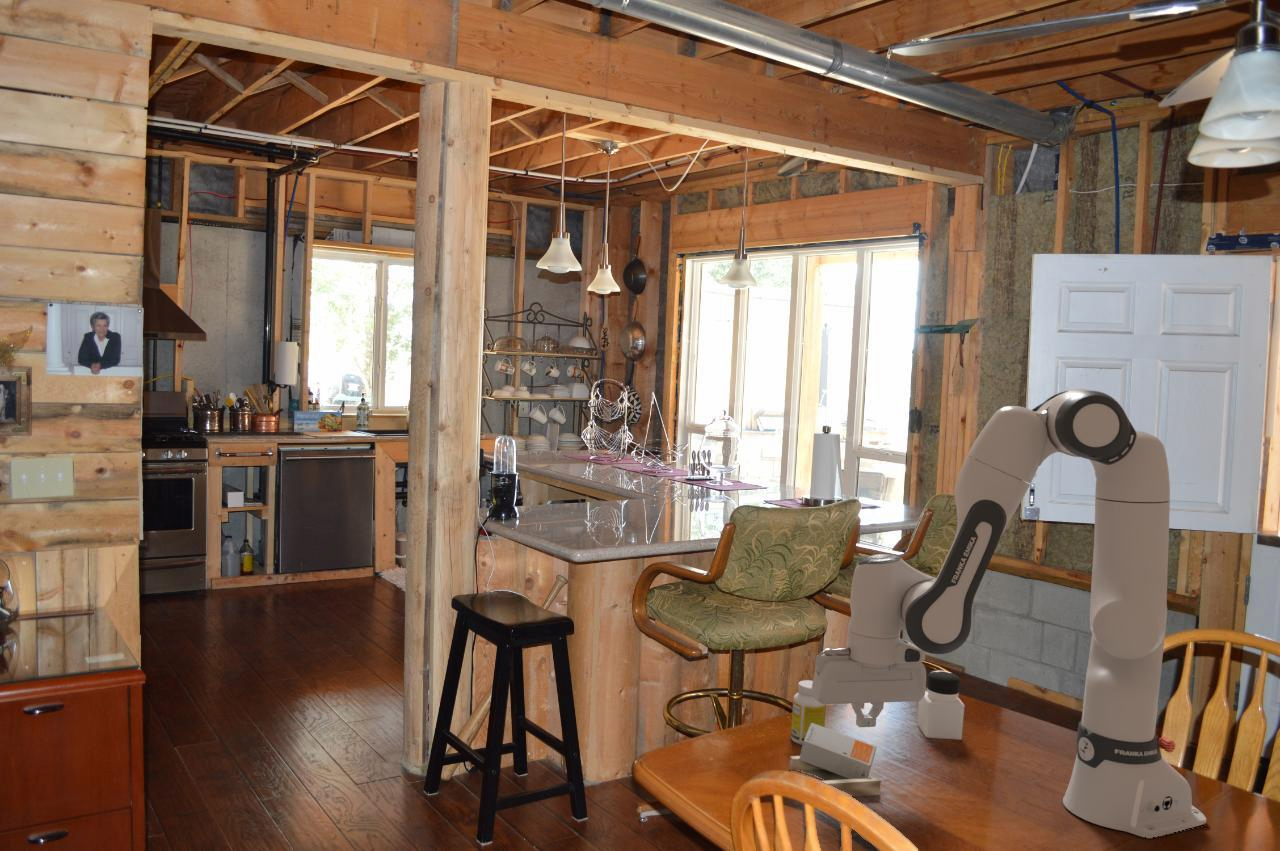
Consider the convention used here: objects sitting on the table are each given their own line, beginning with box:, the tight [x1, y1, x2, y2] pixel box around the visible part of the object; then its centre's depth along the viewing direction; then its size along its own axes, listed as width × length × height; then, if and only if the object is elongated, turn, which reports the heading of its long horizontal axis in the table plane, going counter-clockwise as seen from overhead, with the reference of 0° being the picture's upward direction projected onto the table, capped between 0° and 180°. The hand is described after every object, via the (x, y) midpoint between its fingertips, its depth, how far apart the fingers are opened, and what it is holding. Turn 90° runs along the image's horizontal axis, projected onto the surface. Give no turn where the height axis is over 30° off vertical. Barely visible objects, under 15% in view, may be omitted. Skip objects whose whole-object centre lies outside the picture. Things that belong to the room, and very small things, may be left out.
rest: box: [788, 755, 881, 798], centre depth 176 cm, size 12×11×2 cm
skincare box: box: [799, 723, 877, 779], centre depth 179 cm, size 6×4×12 cm
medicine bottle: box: [916, 670, 966, 741], centre depth 203 cm, size 7×7×12 cm
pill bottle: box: [790, 679, 827, 746], centre depth 194 cm, size 6×6×11 cm
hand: (865, 726), depth 177 cm, fingers closed
